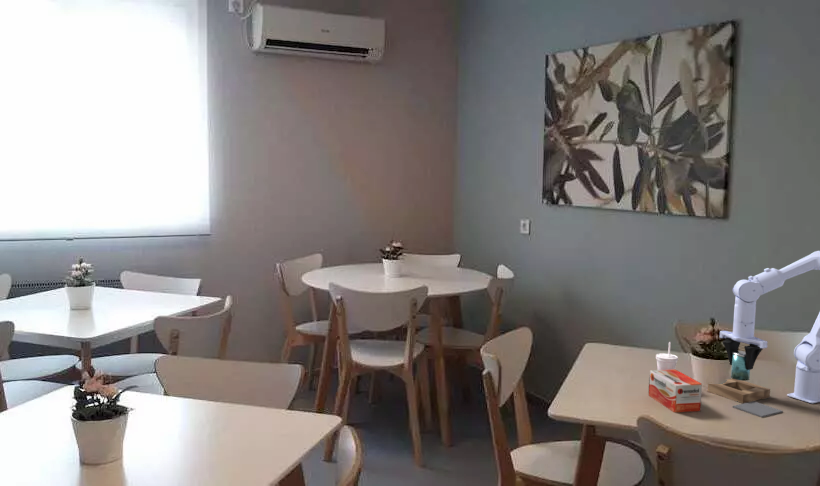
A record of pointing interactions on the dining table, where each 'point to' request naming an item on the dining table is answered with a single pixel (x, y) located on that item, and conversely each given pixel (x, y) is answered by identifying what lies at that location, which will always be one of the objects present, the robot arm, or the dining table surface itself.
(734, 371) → the teal can
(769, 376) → the dining table surface
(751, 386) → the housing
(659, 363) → the smoothie
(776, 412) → the mat
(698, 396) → the medicine box
